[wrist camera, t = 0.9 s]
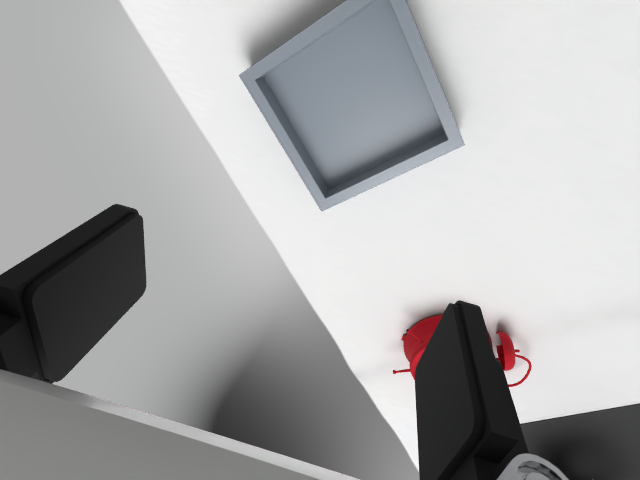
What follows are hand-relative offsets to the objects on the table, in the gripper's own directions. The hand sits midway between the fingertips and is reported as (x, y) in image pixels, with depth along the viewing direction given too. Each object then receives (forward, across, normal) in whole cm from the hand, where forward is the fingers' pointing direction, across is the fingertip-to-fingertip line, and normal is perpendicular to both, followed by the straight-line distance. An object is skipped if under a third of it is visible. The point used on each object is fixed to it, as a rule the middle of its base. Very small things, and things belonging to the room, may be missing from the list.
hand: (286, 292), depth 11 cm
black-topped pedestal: (+28, -44, +42) cm, 67 cm away
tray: (+27, +1, -1) cm, 27 cm away
